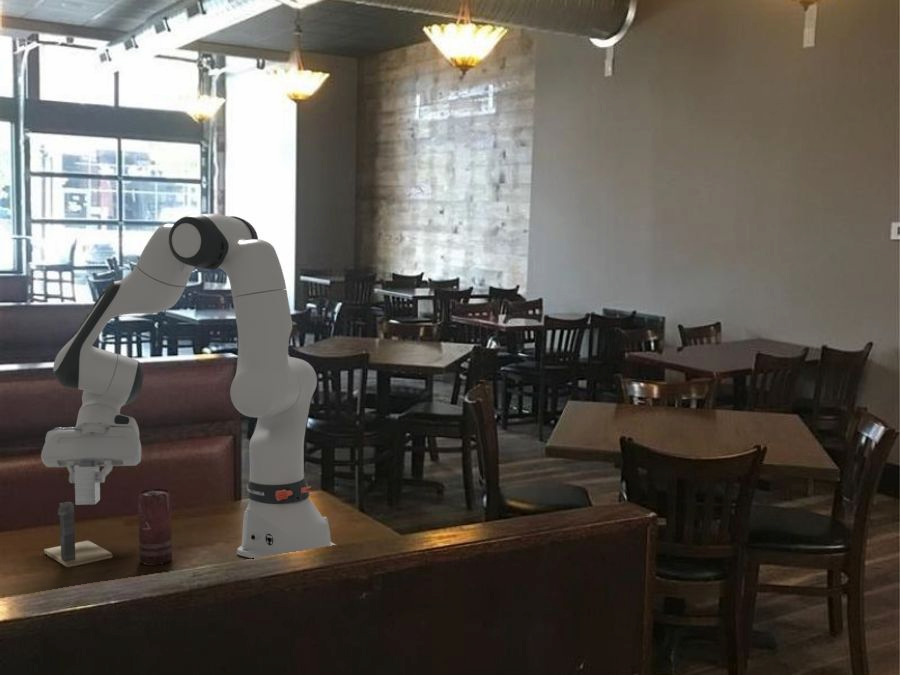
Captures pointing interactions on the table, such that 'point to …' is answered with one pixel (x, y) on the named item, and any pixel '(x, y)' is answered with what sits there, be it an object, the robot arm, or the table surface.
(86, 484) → the grey square pillar
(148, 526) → the can
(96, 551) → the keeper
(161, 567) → the table surface
